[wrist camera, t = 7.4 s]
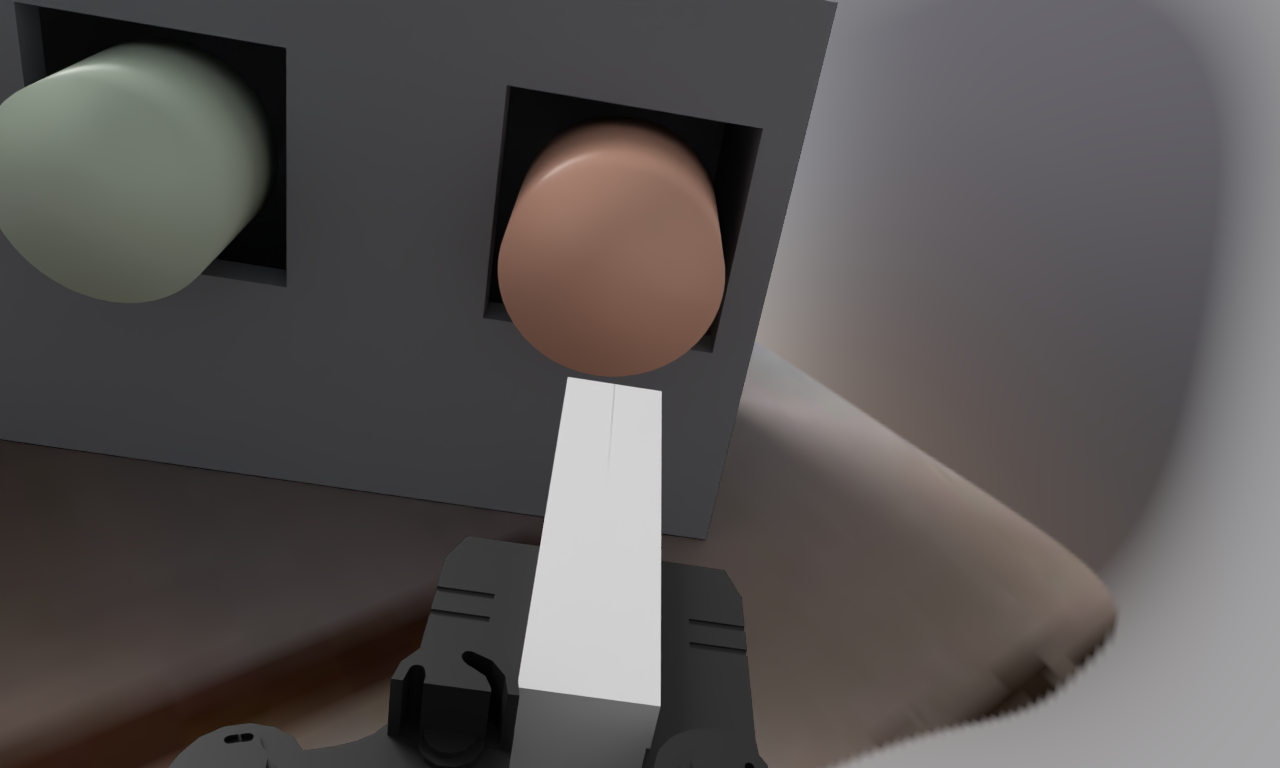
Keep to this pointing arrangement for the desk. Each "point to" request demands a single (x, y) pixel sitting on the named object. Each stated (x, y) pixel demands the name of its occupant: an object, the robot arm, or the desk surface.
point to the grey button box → (409, 240)
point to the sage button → (133, 168)
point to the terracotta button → (613, 248)
